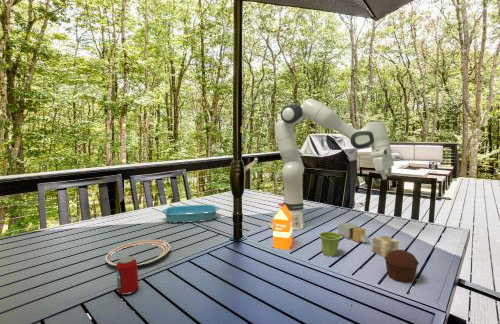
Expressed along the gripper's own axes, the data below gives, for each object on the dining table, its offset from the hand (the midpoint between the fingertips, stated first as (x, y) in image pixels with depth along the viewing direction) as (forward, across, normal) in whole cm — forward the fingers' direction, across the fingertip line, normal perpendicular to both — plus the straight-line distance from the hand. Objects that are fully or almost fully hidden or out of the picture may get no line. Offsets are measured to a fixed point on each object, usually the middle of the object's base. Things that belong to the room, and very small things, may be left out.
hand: (387, 177), depth 144 cm
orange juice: (+21, +44, -41) cm, 64 cm away
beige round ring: (+9, +96, -84) cm, 128 cm away
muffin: (+32, +42, +9) cm, 53 cm away
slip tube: (+27, +13, -20) cm, 36 cm away
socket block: (+31, +23, -1) cm, 38 cm away
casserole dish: (+6, +44, -113) cm, 121 cm away
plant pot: (+26, +39, -20) cm, 51 cm away
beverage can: (+13, +112, -60) cm, 128 cm away
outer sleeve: (+27, +12, -22) cm, 37 cm away
